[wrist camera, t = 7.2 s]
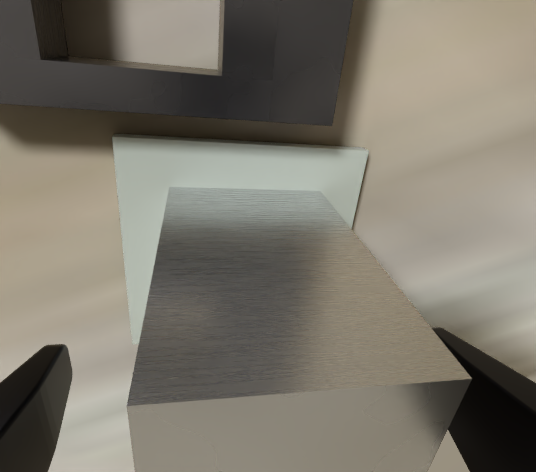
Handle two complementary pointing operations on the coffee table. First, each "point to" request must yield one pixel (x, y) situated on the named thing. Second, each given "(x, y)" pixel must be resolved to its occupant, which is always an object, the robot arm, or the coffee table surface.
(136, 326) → the mat
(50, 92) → the slotted plate
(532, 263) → the coffee table surface
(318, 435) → the brushed metal block
